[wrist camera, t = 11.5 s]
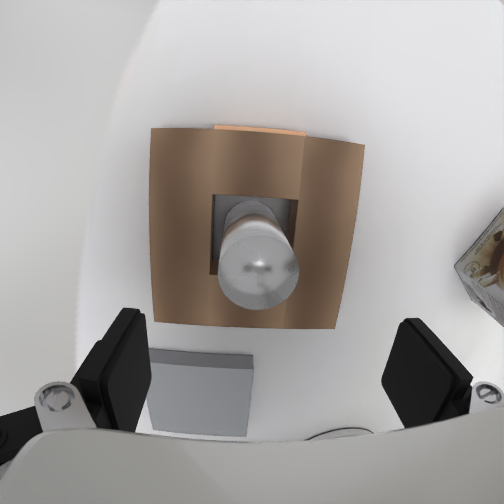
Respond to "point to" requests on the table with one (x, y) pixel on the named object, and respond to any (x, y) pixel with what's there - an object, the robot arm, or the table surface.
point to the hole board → (258, 185)
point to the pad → (200, 392)
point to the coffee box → (486, 270)
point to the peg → (256, 258)
